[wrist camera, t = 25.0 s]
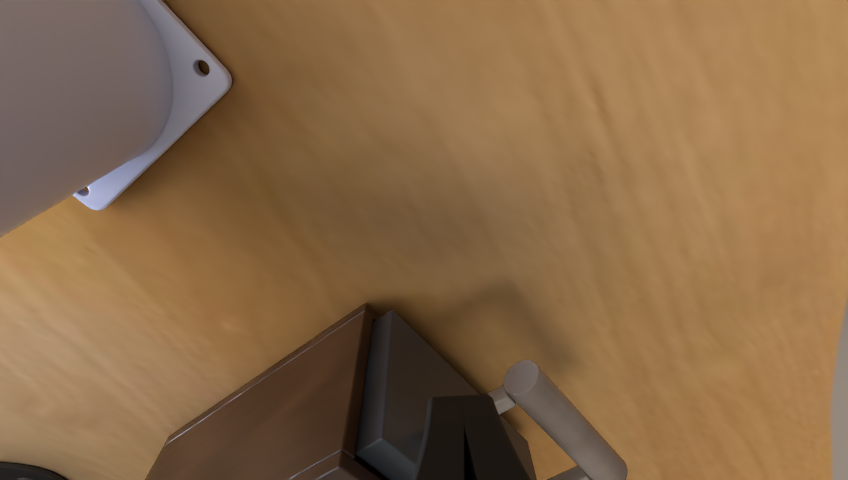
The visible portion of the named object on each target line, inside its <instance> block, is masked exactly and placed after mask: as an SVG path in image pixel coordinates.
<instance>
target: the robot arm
mask: <svg viewBox="0 0 848 480" xmlns="http://www.w3.org/2000/svg"><path fill="white" fill-rule="evenodd" d="M200 60H203V61H205V62H206V63H207V64H208V66H209V70H210V72H209V74H208V75H207V74H204V73H202V72H201V71H200V69H199V66H198V63H199V61H200ZM231 85H232V79H231V75H230V73H229V72H228V70H227V69H226V68H225V67H224V66H223V65H222V64H221V63H220V62H219V60H218V59H217V58H216V57H215V56H214V55H213V54H212V53H211V52H210V51H209V50H208V49H207V48H206V47H205V46H204V45H203V44H202V42H201V41H200V40H199V39H198V38H197V37H196V36H195V35H194V34H193V33H192V32H191V31H190V30H189V29H188V28H187V27H186V25H185V24H184V23H183V22H182V21H181V20H180V19H179V18H178V17H177V16H176V15H175V14H174V13H173V12H172V11H171V10H170V8H169V7H168V6H167V5H166V4H165V3H164V2H163V1H162V0H0V237H2V236H4V235H5V234H7V233H9V232H10V231H12V230H14V229H15V228H17V227H19V226H20V225H22V224H24V223H26V222H27V221H29V220H31V219H32V218H34V217H36V216H37V215H39V214H41V213H42V212H44V211H46V210H48V209H49V208H51V207H53V206H54V205H56V204H58V203H59V202H61V201H63V200H64V199H66V198H68V197H70V196H71V195H73V196H74V197H76V198H77V199H78V200H79V201H81V202H82V203H83V204H84V205H86V206H87V207H89V208H90V209H93V210H103V209H105V208H106V207H108V206H109V205H110V204H111V203H112V202H113V201H115V200H116V199H117V198H118V197H119V196H120V195H121V194H122V193H123V192H124V191H125V190H126V189H127V188H128V187H129V186H130V185H131V184H132V183H133V182H134V181H135V180H136V179H137V178H138V177H139V176H140V175H141V174H143V173H144V172H145V171H146V170H147V169H148V168H149V167H150V166H151V165H152V164H153V163H154V162H155V161H156V160H157V159H158V158H159V157H160V156H161V155H162V154H163V153H164V152H165V151H166V150H167V149H168V148H169V147H171V146H172V145H173V144H174V143H175V142H176V141H177V140H178V139H179V138H180V137H181V136H182V135H183V134H184V133H185V132H186V131H187V130H188V129H189V128H190V127H191V126H192V125H193V124H194V123H195V122H196V121H197V120H198V119H200V118H201V117H202V116H203V115H204V114H205V113H206V112H207V111H208V110H209V109H210V108H211V107H212V106H213V105H214V104H215V103H216V102H217V101H218V100H219V99H220V98H221V97H222V96H223V95H224V94H225V93H226V92H228V91H229V89H230V87H231ZM85 187H87V188H88V190H89V192H87V191H85V190H84V189H83V188H85ZM412 480H531V479H530V477H529V475H528V474H527V472H526V470H525V468H524V466H523V465H522V463H521V461H520V459H519V457H518V455H517V453H516V451H515V449H514V447H513V445H512V443H511V441H510V439H509V437H508V435H507V432H506V430H505V428H504V426H503V424H502V421H501V419H500V416H499V414H498V411H497V409H496V406H495V403H494V400H493V398H492V397H491V396H489V395H488V394H484V395H463V396H441V397H432V398H431V399H429V400H428V403H427V416H426V424H425V429H424V435H423V439H422V444H421V448H420V452H419V457H418V460H417V464H416V467H415V471H414V474H413V478H412Z"/></svg>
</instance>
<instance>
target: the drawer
mask: <svg viewBox="0 0 848 480" xmlns="http://www.w3.org/2000/svg"><path fill="white" fill-rule="evenodd" d="M463 395H480V394H479V393H478V392H477V391H475V390H474V389H473V388H472V387H471V386H470V385H469V384H468V383H467V382H466V381H465V380H464V379H463V378H462V377H461V376H460V375H459V374H458V373H457V372H456V371H455V370H454V369H453V368H452V367H451V366H450V365H449V364H448V363H447V362H446V361H445V360H444V359H443V358H442V357H441V356H440V355H439V354H438V353H437V352H436V351H435V350H434V349H433V348H432V347H431V346H430V345H428V344H427V343H426V342H425V341H424V340H423V339H422V338H421V337H420V336H419V335H418V334H417V333H416V332H415V331H414V330H413V329H412V328H411V327H410V326H409V325H408V324H407V323H406V322H405V321H404V320H403V319H402V318H401V317H400V316H399V315H398V314H397V313H396V312H395V311H394V310H391V311H390V312H388V313H387V314H385V315H384V316H382V317H381V318H379V319H378V320H376V321H375V322H373V325H372V332H371V340H370V347H369V355H368V362H367V369H366V377H365V384H364V392H363V399H362V407H361V414H360V422H359V429H358V436H357V444H356V451H355V458H354V460H355V461H357V462H358V458H359V457H360V458H361V459H362V460H364V461H365V462H366V463H367V464H369V465H370V466H371V467H373V468H374V469H375V470H377V471H378V472H379V473H381V474H382V475H383V476H385V477H386V478H387V479H389V480H412V478H413V474H414V471H415V467H416V464H417V460H418V457H419V452H420V448H421V444H422V439H423V435H424V429H425V424H426V416H427V403H428V400H429V399H431V398H432V397H441V396H463ZM488 395H489V396H491V397H492V398H493V400H494V403H495V406H496V409H497V411H498V414H499V416H500V419H501V421H502V424H503V426H504V428H505V430H506V432H507V435H508V437H509V439H510V441H511V443H512V445H513V447H514V449H515V451H516V453H517V455H518V457H519V459H520V461H521V463H522V465H523V466H524V468H525V470H526V472H527V474H528V475H529V477H530V479H531V480H537V479H536V475H535V471H534V466H533V462H532V458H531V454H530V450H529V446H528V442H527V440H526V439H525V438H524V437H523V436H521V435H520V434H519V433H518V432H517V431H516V430H515V429H514V428H513V427H512V426H511V425H510V424H509V423H508V422H507V421H506V420H505V419H504V418H503V417H502V416H501V415H500V414H501V413H503V412H505V411H507V410H509V409H511V408H513V407H515V406H516V402H517V403H518V404H519V405H520V407H521V408H522V409H523V410H524V411H525V412H526V413H527V414H528V415H529V416H530V417H531V418H532V419H533V420H534V421H535V422H536V423H537V424H538V425H539V426H540V427H541V428H542V429H543V430H544V431H545V432H546V433H547V434H548V435H549V436H550V437H551V438H552V439H553V440H554V441H555V442H556V443H557V444H558V445H559V446H560V447H561V448H562V449H563V450H564V451H565V452H566V454H567V455H568V456H569V457H570V458H571V459H572V460H573V461H574V462H575V463H576V464H577V465H578V466H575V467H573V468H571V469H569V470H567V471H565V472H562V473H560V474H558V475H556V476H554V477H552V478H550V479H547V480H626V478H627V466H626V463H625V462H624V460H623V459H622V458H621V457H620V456H619V455H618V454H617V453H616V451H615V450H614V449H613V448H612V447H611V446H610V445H609V444H608V442H607V441H606V440H605V439H604V438H603V437H602V436H601V435H600V434H599V432H598V431H597V430H596V429H595V428H594V427H593V426H592V425H591V424H590V422H589V421H588V420H587V419H586V418H585V417H584V416H583V415H582V413H581V412H580V411H579V410H578V409H577V408H576V407H575V406H574V405H573V403H572V402H571V401H570V400H569V399H568V398H567V397H566V396H565V395H564V393H563V392H562V391H561V390H560V389H559V388H558V387H557V386H556V385H555V383H554V382H553V381H552V380H551V379H550V378H549V377H548V376H547V374H546V373H545V372H544V371H543V370H542V369H541V368H540V367H539V366H538V364H537V363H536V362H534V361H532V360H522V361H519V362H517V363H515V364H514V365H513V366H512V367H510V369H509V370H508V371H507V373H506V375H505V377H504V385H502V386H500V387H498V388H497V389H495V390H493V391H491V392H489V393H488Z"/></svg>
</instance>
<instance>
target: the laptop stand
mask: <svg viewBox="0 0 848 480" xmlns="http://www.w3.org/2000/svg"><path fill="white" fill-rule="evenodd" d="M0 480H65V479H63V478H61V477H60V476H58V475H56V474H54V473H52V472H50V471H47V470H44V469H41V468H37V467H33V466H28V465H21V464H12V463H2V462H0Z"/></svg>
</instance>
